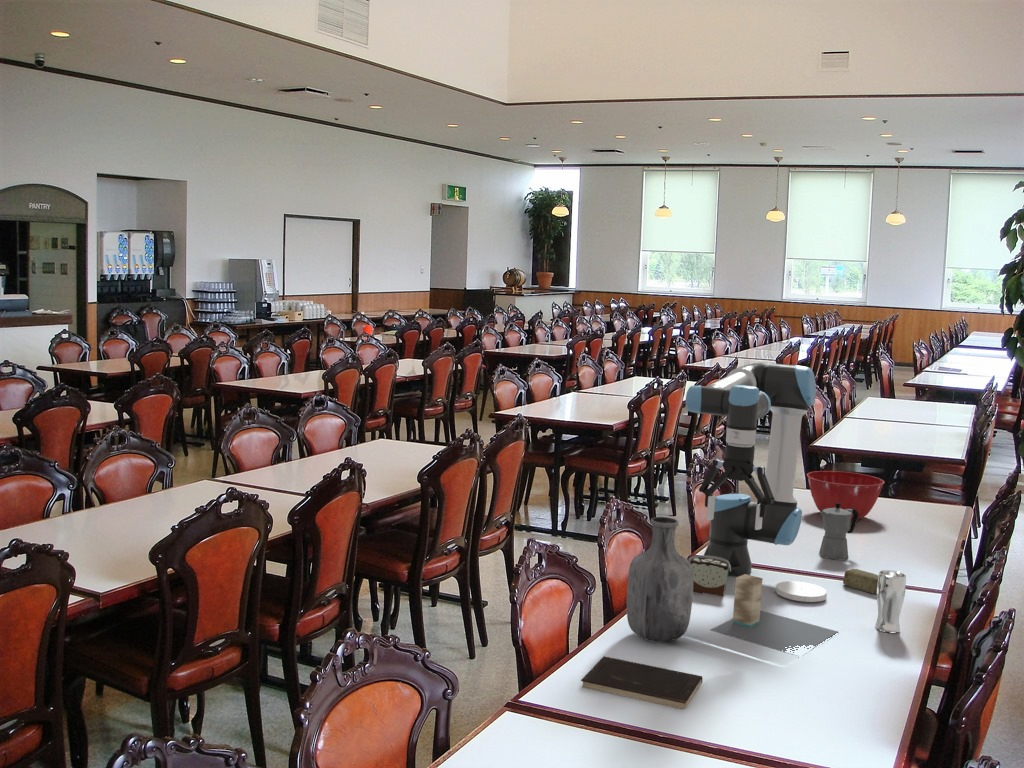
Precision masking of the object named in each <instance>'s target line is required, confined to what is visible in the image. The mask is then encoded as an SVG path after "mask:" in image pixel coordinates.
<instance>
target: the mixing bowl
mask: <svg viewBox="0 0 1024 768" xmlns="http://www.w3.org/2000/svg"><path fill="white" fill-rule="evenodd" d="M806 476H807V480H808V486H809V490H810V493H811V496H812V499H813V502H814V504H815V507H816V508H817V510H818V511H819V512H820V513H822V512H823V511H822V510H824V509H827V508H836V504H835V503H840V504H841V505H840V509H844V510H846V509H856V511H857V512H858V513H859V516H858V519H857V521H858V520H861V519H862V518H864V517H866V516H867V515H868V514H869V513H870V512H871V510H872V509H873V507H874V506H875V504H876V502H877V501H878V498H879V496H880V494H881V492H882V489H883V486H884V484H885V480H883V479H881V478H880V477H876V476H874V475H873V476H872V475H869V474H863V473H856V472H850V471H839V470H838V471H836V470H819V471H817V470H815V471H810V472H808V473H806ZM853 516H854V515H853V514H852V517H851V521H852V520H853Z"/></svg>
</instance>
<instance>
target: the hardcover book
mask: <svg viewBox="0 0 1024 768" xmlns="http://www.w3.org/2000/svg"><path fill="white" fill-rule="evenodd" d="M580 682H582V688H585V689H590V690H595V691H600V692H604V693H609V694H614V695H618V696H623V697H628V698H632V699H635V700H642V701H645V702H650V703H653V704H654V703H655V704H659V705H663V706H664V705H665V706H669V707H675V708H678V709H683V710H684V709H685V708H686V707H687V706H688V705H689V702H690V701H691V699H692V698H693V696H694V694H695V693H696V692H697V690H698V689H699V687H700V685H701V684H702V683H703V676H702V675H697V674H692V673H689V672H682V671H678V670H673V669H668V668H664V667H659V666H654V665H649V664H643V663H641V662H640V663H638V662H633V661H629V660H624V659H619V658H614V657H610V656H605V655H603V656H602V658H600V660H599V661H597V662H596V664H595V665H593V667H592V668H591V669H590V670H589V671H588V672H587V673H586V674H585V675H584V676H583V677H582V679H580Z"/></svg>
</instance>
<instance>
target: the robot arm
mask: <svg viewBox="0 0 1024 768" xmlns="http://www.w3.org/2000/svg"><path fill="white" fill-rule="evenodd" d="M815 377H816V376H815V374H814V371H813V370H812V369H811V367H808V366H803V365H798V364H785V363H783V364H782V363H770V362H755V363H750V364H746V365H742V366H739V367H736V368H734V369H732V370H731V371H730V372H729V373H728V374H727V375H726V376H725V377H723V378H721V379H719V380H717V381H715V382H713V383H711V384H708V385H705V386H704V385H691V386H689V387H688V389H687V391H686V393H685V394H686V395H685V408H686V409H687V411H688V412H691V413H694V414H695V413H696V414H702V415H703V414H704V415H711V416H723V417H727V424H726V437H725V442H726V443H727V444H726V445H725V447H724V460H721V459H720V458H715V459H713V460H712V462H711V468H710V469H709V471H708V473H707V475H706V476H705V478H704V480H703V481H702V483H701V484H700V486H699V488H698V491H699V492H700V493H703V494H704V495H705V496H704V497H705V498H704V507H705V508H706V509H707V510H706V521H707V522H708V521H709V534H708V535H709V537H708V543H707V546H706V548H705V551H704V554H703V555H706V556H715V557H720V558H723V559H726V560H727V561H729V563H730V566H731V572H730V569H729V571H728V576H734V577H736V576H737V577H739V576H742V575H744V574H747V575H750V573H751V572H752V568H753V567H752V566H753V565H752V561H751V555H750V552H749V551H750V550H749V547H748V542H749V541H750V540H751V541H756V542H761V543H762V542H763V543H767V544H774V545H775V546H776V545H779V546H789V545H792V544H793V543H794V542H795V540H796V538H797V536H798V533H799V531H800V527H801V523H802V518H803V516H802V515H803V510H802V509H801V508H800V507H798V501H797V499H796V498H795V497H794V487H795V480H796V471H797V463H798V454H799V444H800V434H801V427H802V419H803V416H804V415H806V414H807V413H808V411H809V407H812V406H814V404H815V403H816V396H817V387H816V384H817V383H816V378H815ZM770 411H771V413H772V416H771V427H770V432H769V433H770V434H769V435H770V436H769V444H768V451H767V452H768V453H767V460H766V461H767V462H766V467H765V466H764V465H761V466H755V465H754V460H755V449H756V448H755V447H754V445H756V438H757V436H756V435H757V423H758V420H759V419H762V418H764V417H765V416H766V415H767V414H768V413H769V412H770ZM721 468H723V469H724V472H723V473H722V474H721V475H720V476H719V477H718V479H717V480H715V482H714V483H713V484H712V485H711V483H712V482H713V480H714V479H715V477H716V475H717V473H718V472H719V470H720V469H721ZM753 472H754V473H755V475H756V476H757V479H758V482H759V484H760V487H761V488H760V487H759V485H758V483H757V482H756V481H755V478H754V476H753ZM728 479H730V480H732V481H733V480H736V481H739V482H742V481H744V482H745V484H746V485H747V486H748V487H749V489H750V491H751V492H752V494H753V495H754V497H755V498H756V500H757V501H752V496H751V495H749V494H746V493H727V494H726V493H725V494H720V495H717V496H716V495H715V494H714V493H715V492H716V491H717V490H718V489H719V488H720V487H721V486H722V485H723V484H724V483H725V482H726V481H727V480H728ZM748 540H749V541H748Z"/></svg>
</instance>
